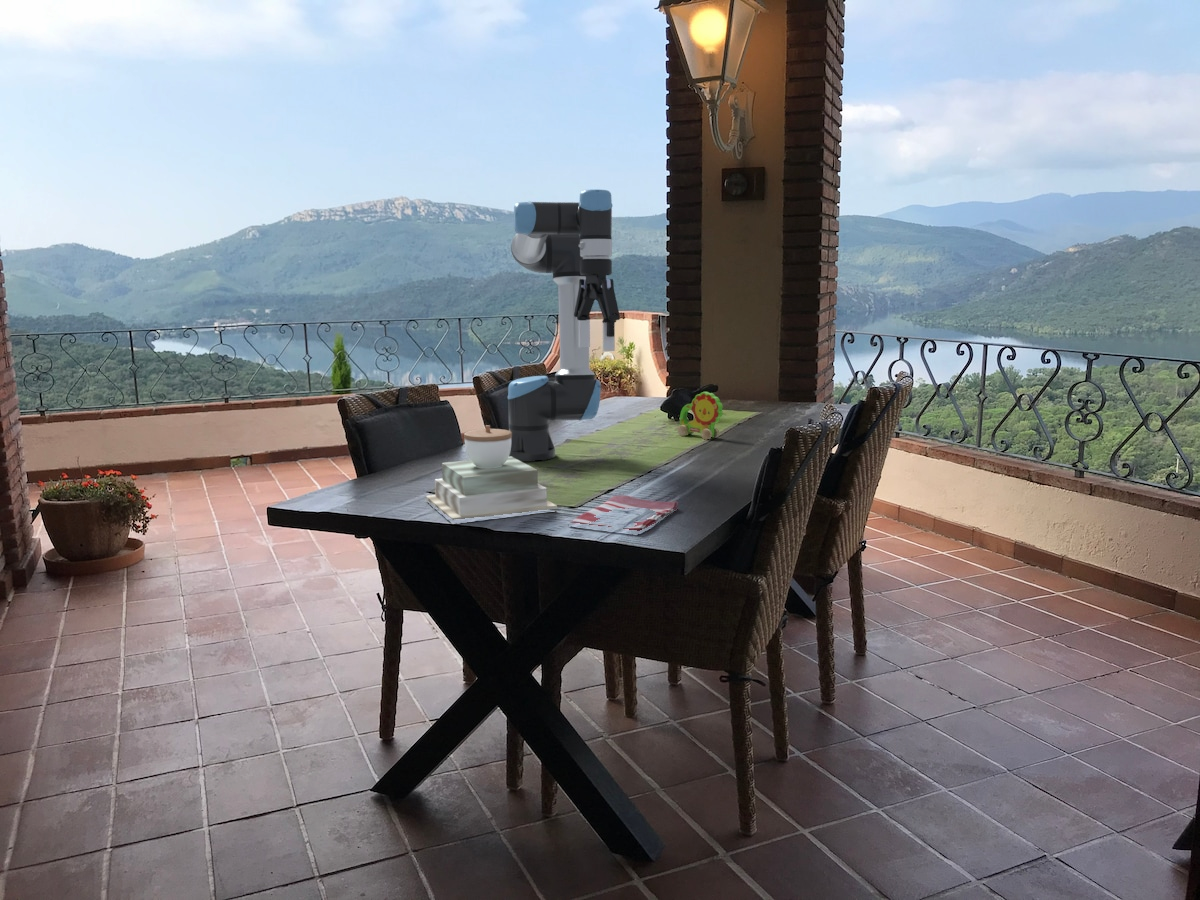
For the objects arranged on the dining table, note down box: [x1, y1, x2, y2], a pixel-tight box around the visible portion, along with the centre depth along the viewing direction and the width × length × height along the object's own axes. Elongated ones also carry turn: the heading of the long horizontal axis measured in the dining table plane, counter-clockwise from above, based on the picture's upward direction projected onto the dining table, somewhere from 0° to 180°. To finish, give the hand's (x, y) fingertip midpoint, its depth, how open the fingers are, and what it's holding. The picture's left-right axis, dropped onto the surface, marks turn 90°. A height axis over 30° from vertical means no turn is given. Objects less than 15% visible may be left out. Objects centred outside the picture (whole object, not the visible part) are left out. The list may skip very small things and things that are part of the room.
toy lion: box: [676, 391, 724, 440], centre depth 287 cm, size 16×5×15 cm, turn 47°
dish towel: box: [569, 494, 679, 531], centre depth 192 cm, size 17×23×3 cm
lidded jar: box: [463, 424, 512, 469], centre depth 199 cm, size 11×11×9 cm
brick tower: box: [425, 456, 558, 520], centre depth 201 cm, size 22×24×10 cm
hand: (596, 349), depth 211 cm, fingers open, 13 cm apart
